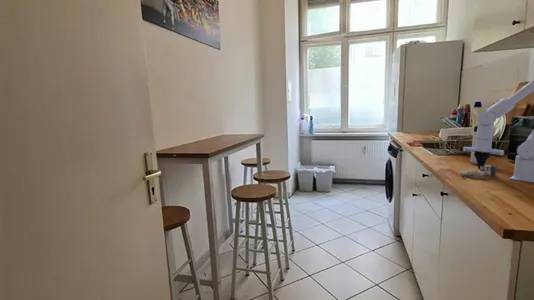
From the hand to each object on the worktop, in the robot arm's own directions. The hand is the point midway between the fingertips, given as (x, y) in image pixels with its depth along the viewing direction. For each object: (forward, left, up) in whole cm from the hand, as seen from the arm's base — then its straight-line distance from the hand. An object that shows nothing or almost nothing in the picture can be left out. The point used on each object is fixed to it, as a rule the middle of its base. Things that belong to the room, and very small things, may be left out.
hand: (480, 168), depth 129 cm
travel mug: (+7, -21, -2) cm, 22 cm away
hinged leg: (-2, +2, -1) cm, 3 cm away
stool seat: (0, +7, -2) cm, 8 cm away
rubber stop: (-5, 0, -2) cm, 5 cm away
